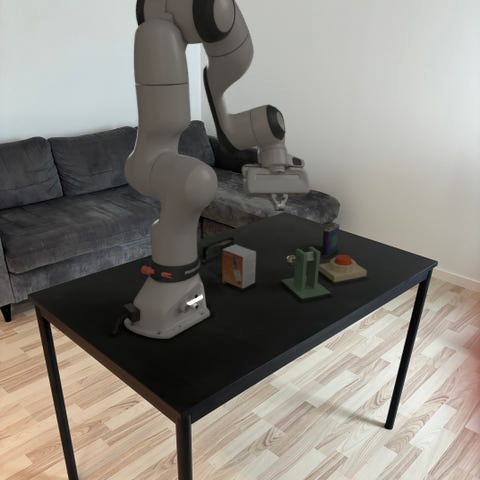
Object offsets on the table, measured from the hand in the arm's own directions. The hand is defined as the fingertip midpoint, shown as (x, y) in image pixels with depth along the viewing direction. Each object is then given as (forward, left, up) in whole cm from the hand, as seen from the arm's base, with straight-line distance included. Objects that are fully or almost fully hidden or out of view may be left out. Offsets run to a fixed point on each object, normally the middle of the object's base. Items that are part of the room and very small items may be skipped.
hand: (280, 210), depth 138 cm
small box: (-16, +5, -18) cm, 25 cm away
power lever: (-8, -10, -12) cm, 17 cm away
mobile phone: (-1, +21, -18) cm, 28 cm away
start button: (+4, -19, -14) cm, 24 cm away
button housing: (+4, -19, -18) cm, 27 cm away
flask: (+19, -10, -18) cm, 28 cm away
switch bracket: (-10, -13, -18) cm, 25 cm away
